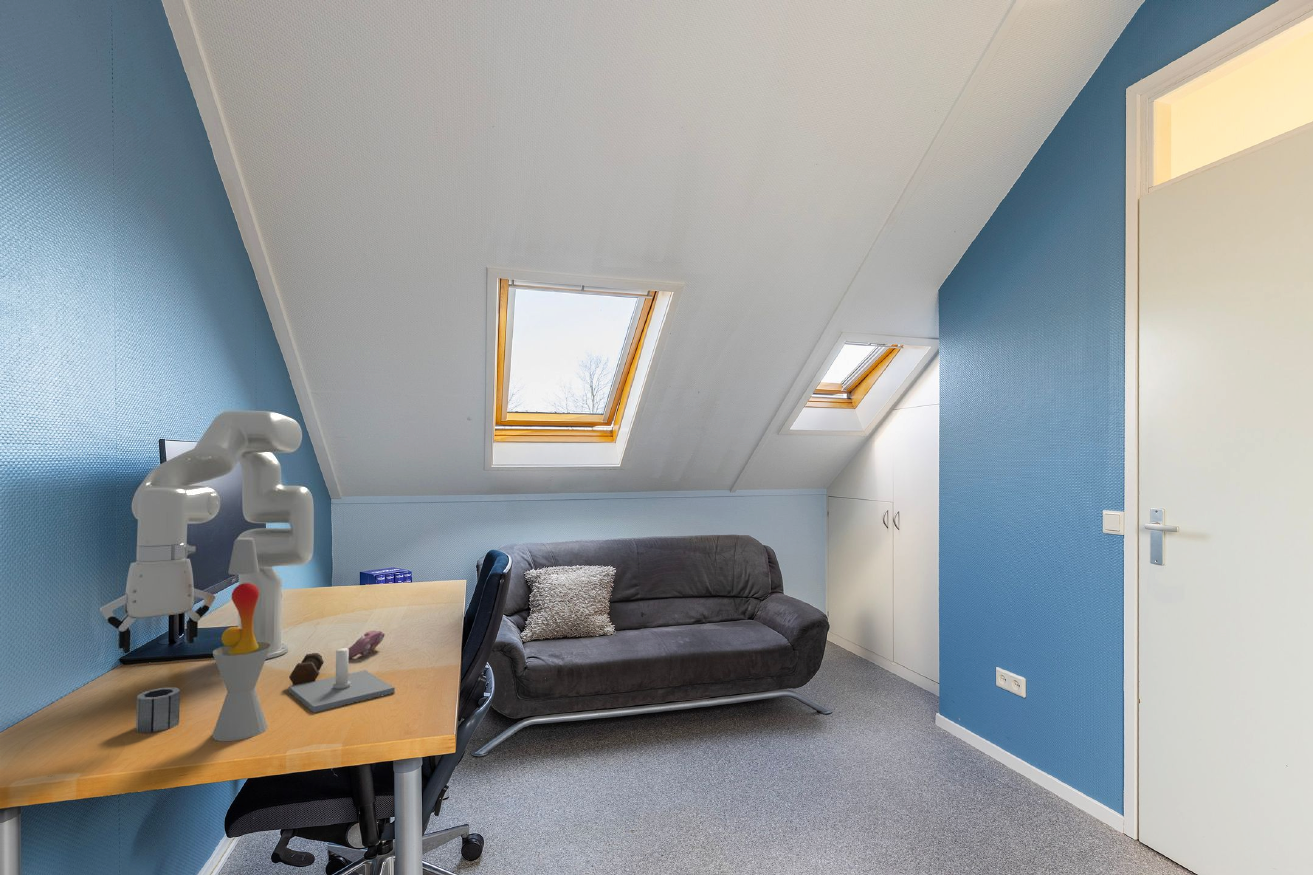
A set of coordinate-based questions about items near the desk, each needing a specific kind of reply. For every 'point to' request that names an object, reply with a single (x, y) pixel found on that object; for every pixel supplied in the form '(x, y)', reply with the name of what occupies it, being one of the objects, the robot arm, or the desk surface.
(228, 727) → the lava lamp
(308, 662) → the bolt
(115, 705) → the desk surface
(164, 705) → the collar
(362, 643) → the pink animal figurine
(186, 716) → the desk surface
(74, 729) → the desk surface
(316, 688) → the post stand
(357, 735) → the desk surface
